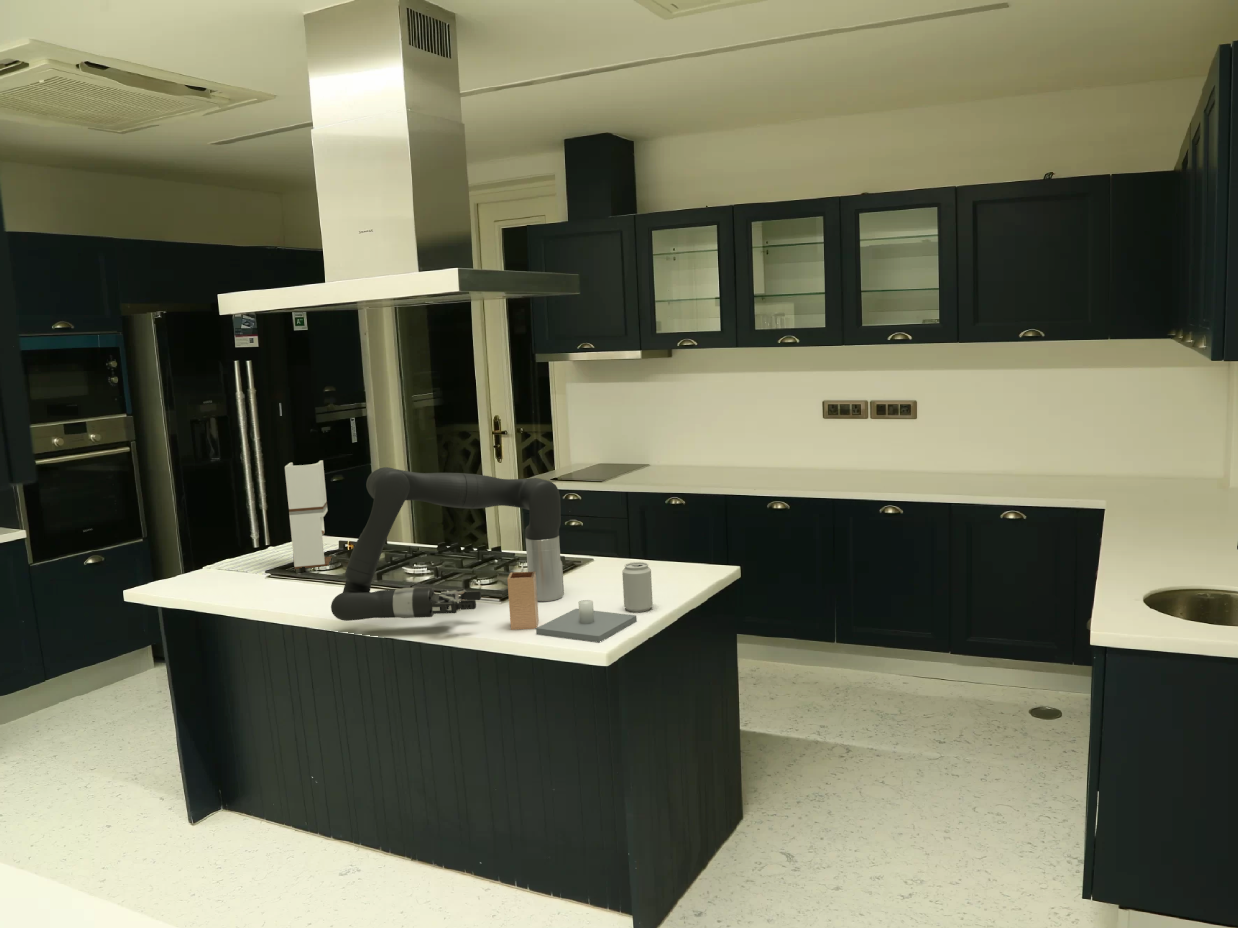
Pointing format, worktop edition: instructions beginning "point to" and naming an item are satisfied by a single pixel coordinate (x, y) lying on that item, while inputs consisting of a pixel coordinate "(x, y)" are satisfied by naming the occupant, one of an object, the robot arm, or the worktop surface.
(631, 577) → the can
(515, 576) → the tan box
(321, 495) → the brown-banded white column
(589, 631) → the duct base
